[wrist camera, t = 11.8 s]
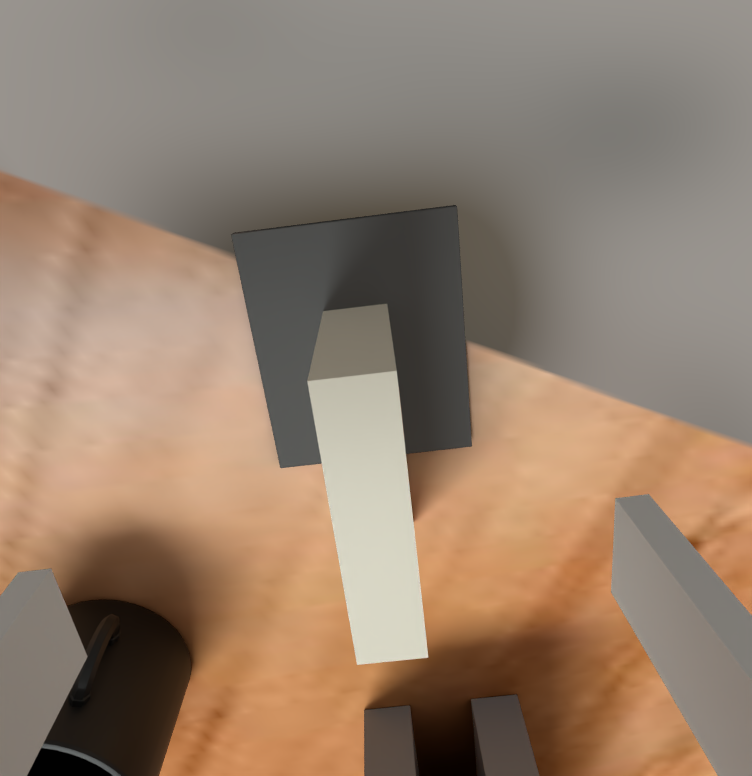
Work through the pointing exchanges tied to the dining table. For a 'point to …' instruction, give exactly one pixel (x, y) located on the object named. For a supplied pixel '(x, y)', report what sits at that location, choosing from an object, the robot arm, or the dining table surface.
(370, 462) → the cream upright slab
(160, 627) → the mug
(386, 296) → the mat
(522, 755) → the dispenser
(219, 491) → the dining table surface
